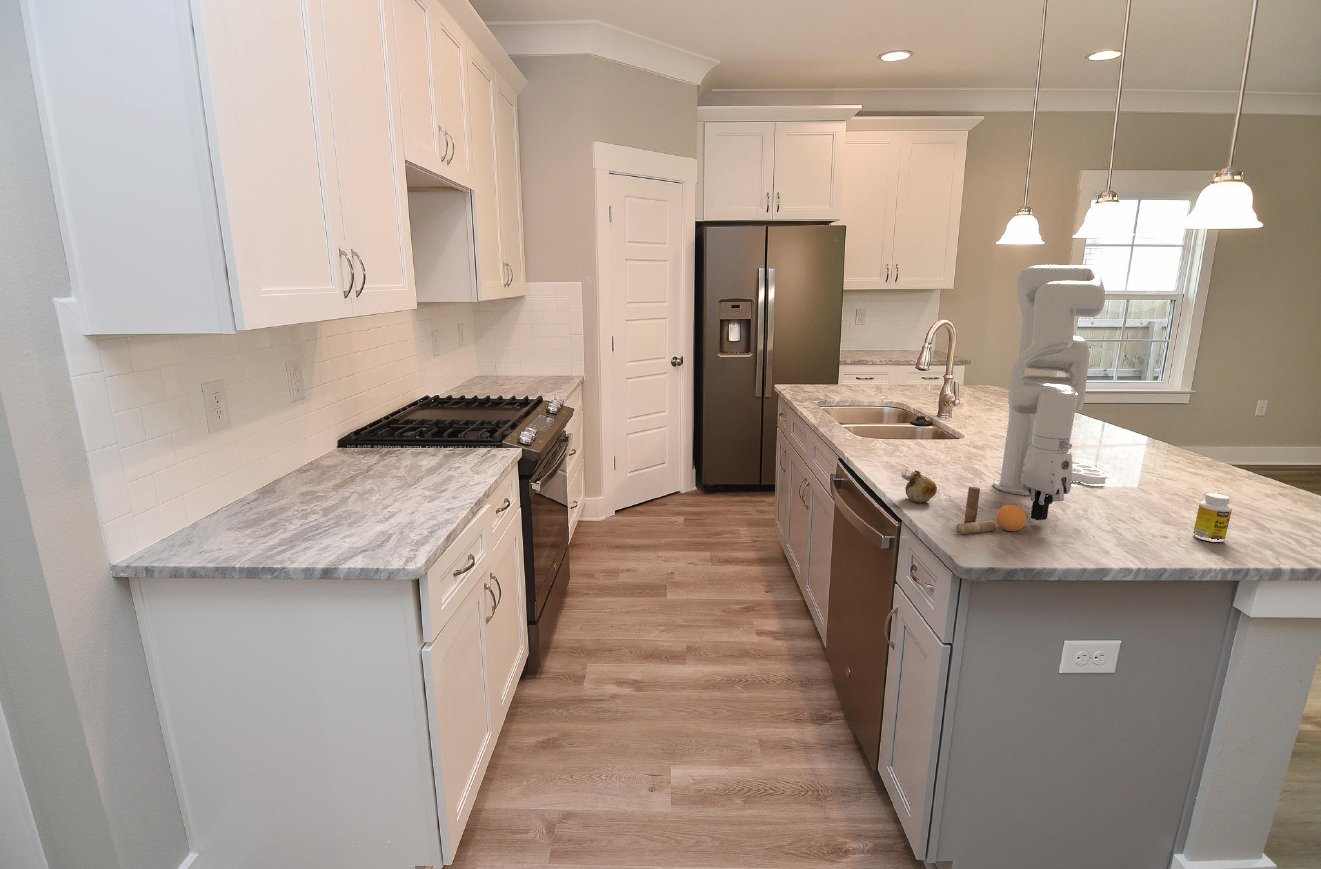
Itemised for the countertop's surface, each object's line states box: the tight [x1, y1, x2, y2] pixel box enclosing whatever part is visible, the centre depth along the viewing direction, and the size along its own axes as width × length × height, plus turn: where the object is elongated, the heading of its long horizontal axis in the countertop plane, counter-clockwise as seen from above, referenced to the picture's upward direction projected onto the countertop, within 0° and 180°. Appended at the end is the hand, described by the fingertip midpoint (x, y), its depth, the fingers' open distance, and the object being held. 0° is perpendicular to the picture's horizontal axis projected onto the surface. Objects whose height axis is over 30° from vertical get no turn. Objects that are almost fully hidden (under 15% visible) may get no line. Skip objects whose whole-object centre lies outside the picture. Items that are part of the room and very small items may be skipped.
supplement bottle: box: [1192, 492, 1233, 540], centre depth 144 cm, size 6×6×10 cm
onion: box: [901, 469, 938, 504], centre depth 167 cm, size 8×8×8 cm
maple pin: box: [955, 520, 997, 535], centre depth 147 cm, size 2×2×9 cm
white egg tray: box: [1072, 460, 1109, 484], centre depth 191 cm, size 3×18×15 cm
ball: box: [996, 504, 1027, 532], centre depth 148 cm, size 6×6×6 cm
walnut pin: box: [963, 486, 981, 523], centre depth 150 cm, size 2×2×9 cm
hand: (1038, 518), depth 152 cm, fingers closed
